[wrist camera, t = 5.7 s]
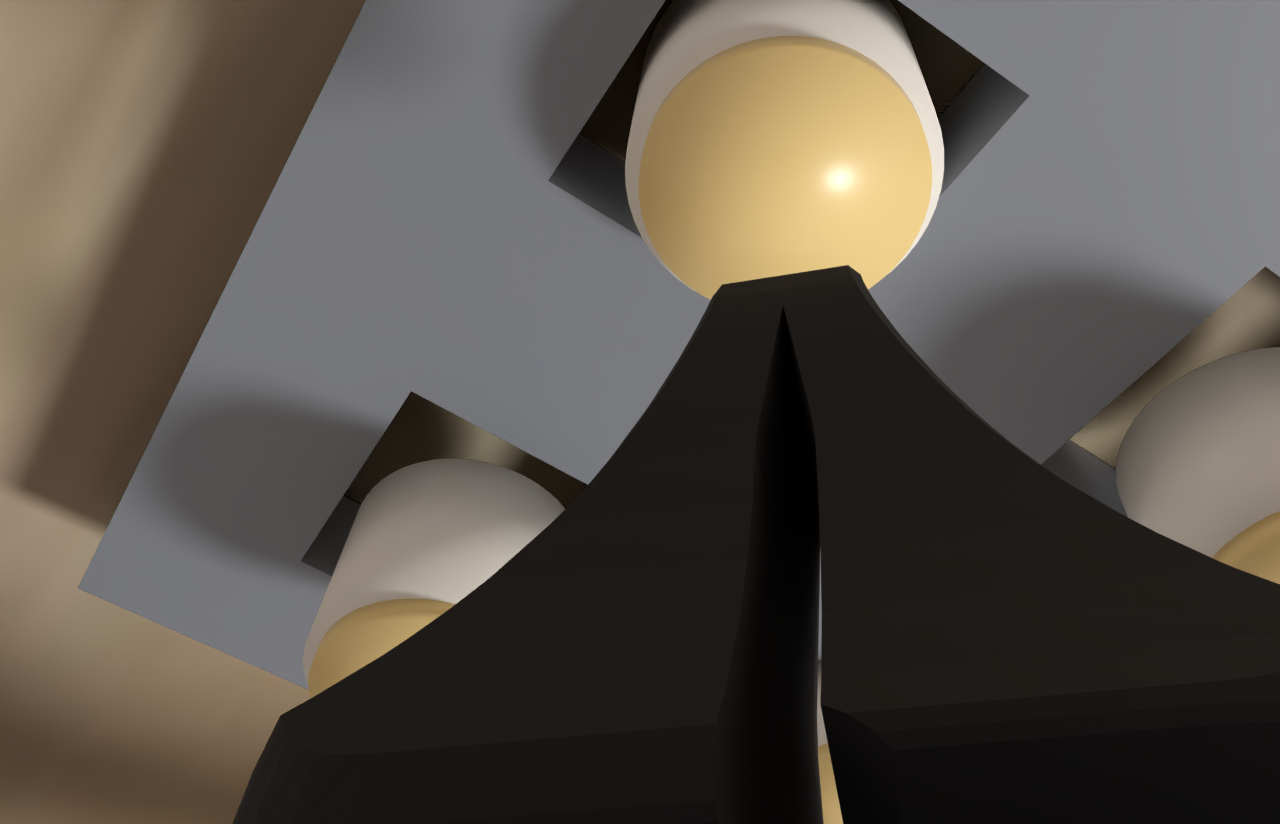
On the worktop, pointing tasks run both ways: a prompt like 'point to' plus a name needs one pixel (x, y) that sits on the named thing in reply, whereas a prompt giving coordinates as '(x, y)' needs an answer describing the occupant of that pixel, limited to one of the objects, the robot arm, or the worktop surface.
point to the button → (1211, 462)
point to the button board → (646, 291)
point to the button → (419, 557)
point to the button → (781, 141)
